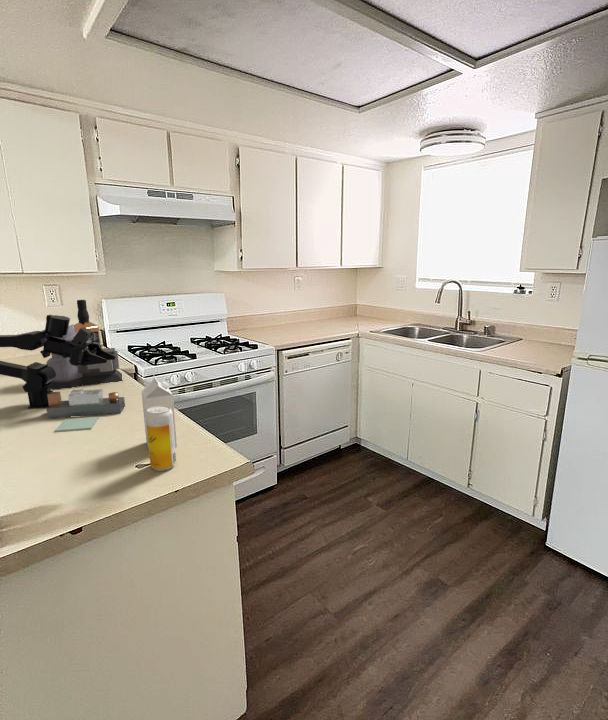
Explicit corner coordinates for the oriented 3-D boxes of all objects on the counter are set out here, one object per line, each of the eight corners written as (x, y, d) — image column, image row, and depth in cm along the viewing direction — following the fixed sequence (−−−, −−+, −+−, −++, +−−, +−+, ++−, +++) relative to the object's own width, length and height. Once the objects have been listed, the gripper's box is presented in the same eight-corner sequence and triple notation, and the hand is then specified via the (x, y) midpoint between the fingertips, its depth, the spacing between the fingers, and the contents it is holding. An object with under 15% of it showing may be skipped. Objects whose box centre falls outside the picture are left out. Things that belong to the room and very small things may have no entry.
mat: (54, 432, 122) (54, 430, 122) (65, 420, 131) (64, 419, 131) (91, 429, 124) (91, 427, 124) (99, 418, 133) (98, 416, 133)
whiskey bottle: (105, 367, 196) (97, 299, 188) (85, 371, 188) (76, 301, 180) (93, 364, 201) (85, 298, 194) (73, 368, 193) (63, 300, 186)
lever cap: (69, 405, 134) (67, 393, 133) (74, 400, 139) (72, 388, 138) (99, 404, 136) (97, 391, 135) (103, 399, 140) (101, 387, 139)
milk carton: (149, 452, 109) (143, 384, 105) (146, 442, 116) (139, 377, 111) (177, 446, 113) (171, 380, 108) (172, 437, 119) (167, 373, 114)
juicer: (38, 391, 160) (28, 329, 154) (45, 380, 174) (36, 323, 168) (122, 382, 171) (116, 324, 165) (122, 373, 186) (117, 319, 180)
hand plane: (47, 418, 132) (44, 396, 131) (55, 411, 139) (52, 390, 137) (120, 413, 137) (118, 392, 135) (125, 406, 144) (122, 385, 142)
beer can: (154, 460, 105) (149, 405, 101) (178, 459, 105) (174, 404, 102) (147, 472, 99) (141, 414, 95) (173, 471, 99) (168, 413, 96)
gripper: (57, 326, 131) (107, 339, 134) (80, 324, 149) (124, 335, 152) (49, 360, 132) (99, 372, 135) (73, 353, 150) (117, 364, 153)
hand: (111, 359), depth 144 cm, fingers open, 9 cm apart
